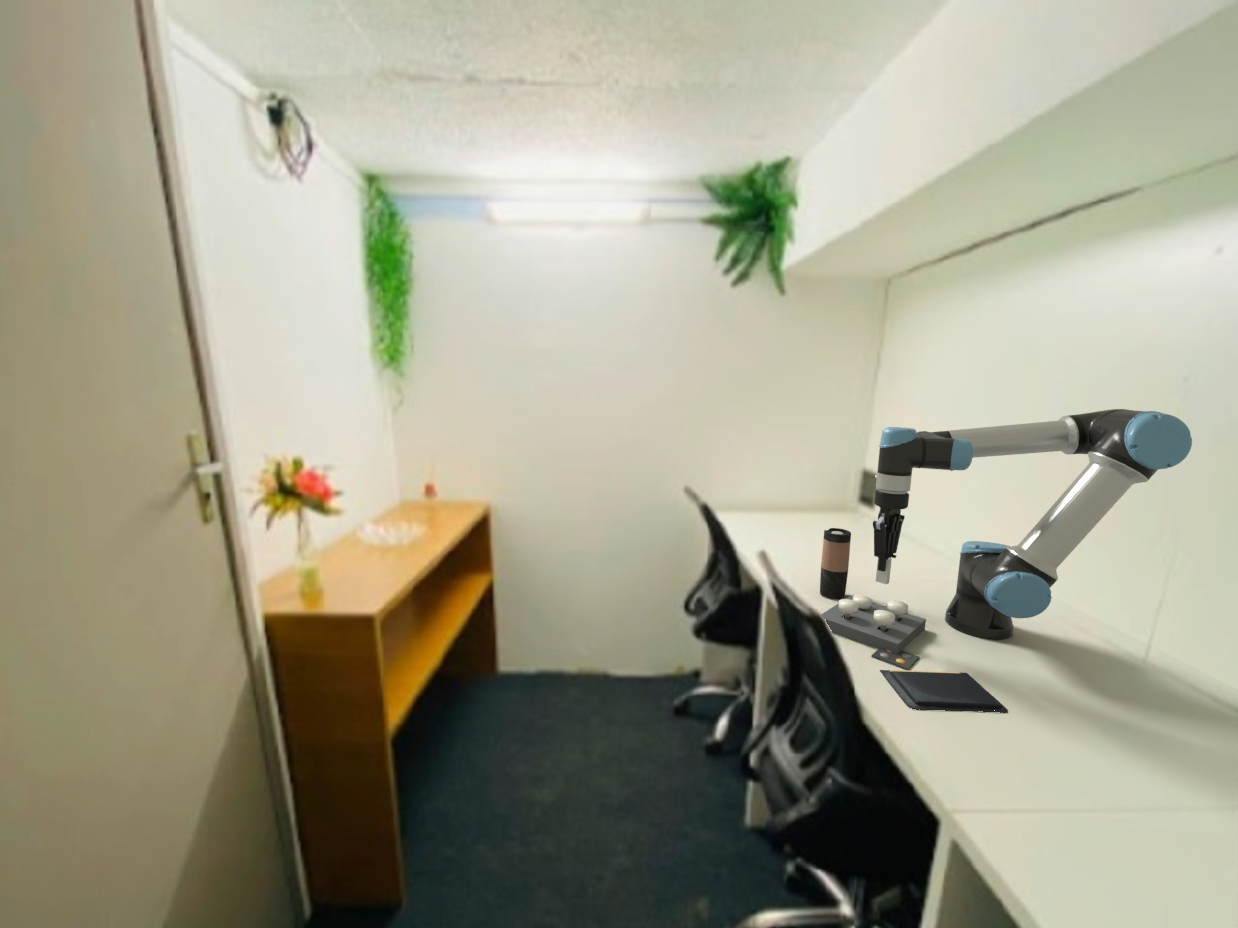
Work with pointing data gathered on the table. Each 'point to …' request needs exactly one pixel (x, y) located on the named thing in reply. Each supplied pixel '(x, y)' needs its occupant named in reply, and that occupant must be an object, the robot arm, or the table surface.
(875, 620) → the button
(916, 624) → the button board
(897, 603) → the button
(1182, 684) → the table surface
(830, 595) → the travel mug
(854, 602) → the button
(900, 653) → the card
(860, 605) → the button
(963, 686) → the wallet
